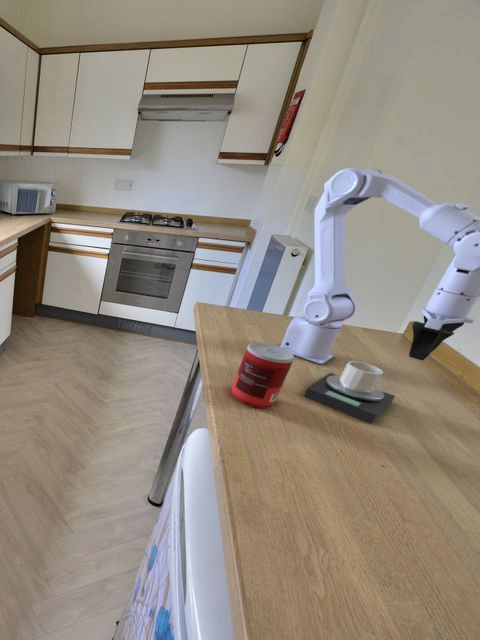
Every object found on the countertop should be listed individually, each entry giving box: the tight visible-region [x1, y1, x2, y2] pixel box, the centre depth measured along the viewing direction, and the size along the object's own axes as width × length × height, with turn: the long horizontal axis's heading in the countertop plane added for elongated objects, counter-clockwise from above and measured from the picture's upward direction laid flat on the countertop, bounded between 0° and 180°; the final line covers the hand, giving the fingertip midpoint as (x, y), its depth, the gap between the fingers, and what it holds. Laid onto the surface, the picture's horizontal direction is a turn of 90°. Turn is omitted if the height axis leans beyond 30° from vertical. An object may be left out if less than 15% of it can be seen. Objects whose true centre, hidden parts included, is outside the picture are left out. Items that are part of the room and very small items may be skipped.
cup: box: [340, 360, 384, 393], centre depth 83 cm, size 5×5×4 cm
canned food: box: [231, 341, 295, 409], centre depth 82 cm, size 8×8×11 cm
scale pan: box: [326, 374, 384, 401], centre depth 84 cm, size 9×9×1 cm
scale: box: [303, 372, 396, 424], centre depth 84 cm, size 11×13×2 cm
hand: (420, 354), depth 85 cm, fingers open, 7 cm apart
